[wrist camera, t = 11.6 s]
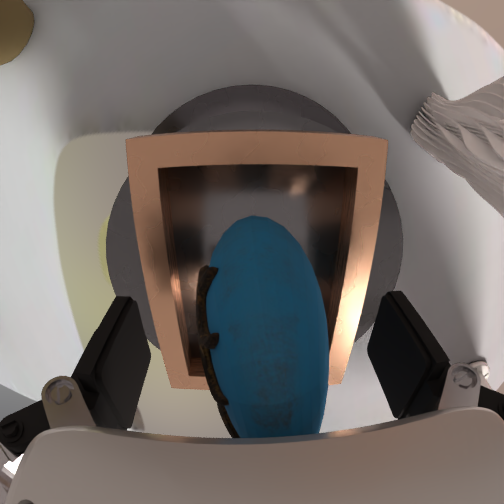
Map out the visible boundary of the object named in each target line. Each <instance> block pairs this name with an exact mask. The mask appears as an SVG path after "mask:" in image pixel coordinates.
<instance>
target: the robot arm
mask: <svg viewBox="0 0 504 504" xmlns="http://www.w3.org/2000/svg"><path fill="white" fill-rule="evenodd" d="M367 352H368V356H369V358H370V360H371V363H372V365H373V367H374V370H375V372H376V374H377V377H378V379H379V382H380V384H381V386H382V389H383V391H384V394H385V396H386V399H387V401H388V404H389V406H390V409H391V411H392V414H393V416H394V417H395V418H398V420H394V421H390V422H385V423H380V424H376V425H370V426H365V427H360V428H354V429H348V430H341V431H334V432H326V433H318V434H309V435H299V436H286V437H269V438H201V437H183V436H171V435H161V434H151V433H142V432H134V431H127V428H131V426H132V423H133V419H134V416H135V412H136V408H137V405H138V401H139V397H140V394H141V390H142V387H143V383H144V380H145V377H146V373H147V370H148V367H149V363H150V360H151V353H150V349H149V345H148V342H147V338H146V335H145V331H144V327H143V324H142V320H141V316H140V312H139V308H138V304H137V302H136V301H135V300H133V299H132V297H130V296H116V298H115V299H114V301H113V302H112V304H111V306H110V308H109V309H108V311H107V313H106V315H105V316H104V318H103V320H102V322H101V324H100V326H99V327H98V329H96V331H95V332H94V334H93V336H92V337H91V340H90V341H89V343H88V345H87V347H86V349H85V351H84V352H83V354H82V356H81V358H80V360H79V362H78V364H77V366H76V368H75V370H74V372H73V374H72V376H71V377H67V376H59V377H55V378H53V379H51V380H49V381H48V382H47V383H46V384H45V386H44V387H43V389H42V393H41V396H42V400H40V401H38V402H36V403H34V404H32V405H30V406H28V407H25V408H23V409H21V410H19V411H17V412H15V413H13V414H10V415H8V416H6V417H5V418H3V420H2V421H1V422H0V504H504V395H503V394H501V393H499V392H496V391H494V390H492V388H491V386H490V385H489V383H488V382H487V378H488V376H489V371H490V370H489V367H488V365H487V364H486V363H485V362H483V361H478V362H474V363H471V364H469V365H468V364H464V363H456V364H453V365H452V366H451V365H450V364H449V358H448V357H447V355H446V354H445V352H444V351H443V349H442V347H441V346H440V344H439V343H438V341H437V340H436V339H435V337H434V336H433V334H432V333H431V331H430V330H429V328H428V327H427V325H426V324H425V323H424V321H423V320H422V318H421V317H420V315H419V314H418V313H417V311H416V310H415V309H414V307H413V306H412V304H411V303H410V302H409V300H408V299H407V298H406V296H405V295H404V294H403V292H402V291H388V292H387V293H386V294H385V295H384V296H382V298H381V302H380V305H379V309H378V313H377V316H376V320H375V323H374V327H373V330H372V333H371V337H370V340H369V343H368V347H367Z"/></svg>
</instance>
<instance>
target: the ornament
mask: <svg viewBox="0 0 504 504" xmlns="http://www.w3.org/2000/svg"><path fill="white" fill-rule="evenodd" d="M196 325H197V335H198V342H199V350H200V355H201V360H202V365H203V369H204V373H205V377H206V381H207V384H208V387H209V389H210V392H211V394H212V396H213V398H214V400H215V401H216V402H217V405H218V409H219V413H220V415H221V417H222V420H223V422H224V424H225V426H226V428H227V430H228V432H229V434H230V435H231V437H232V438H269V437H286V436H299V435H309V434H318V433H319V431H320V427H321V423H322V419H323V415H324V410H325V404H326V397H327V390H328V381H329V341H328V328H327V320H326V314H325V309H324V304H323V299H322V294H321V290H320V287H319V284H318V281H317V279H316V276H315V273H314V270H313V268H312V265H311V263H310V261H309V260H308V258H307V256H306V254H305V252H304V251H303V249H302V247H301V245H300V244H299V242H298V241H297V240H296V239H295V238H294V237H293V236H292V235H291V234H290V232H289V231H288V230H287V229H286V228H285V227H284V226H282V225H280V224H279V223H277V222H275V221H273V220H271V219H269V218H268V217H260V216H252V215H251V216H248V217H245V218H243V219H240V220H237V221H236V222H235V223H234V224H232V225H231V226H230V227H229V228H228V229H227V230H226V231H225V232H224V233H223V235H222V236H221V238H220V240H219V242H218V244H217V245H216V247H215V249H214V251H213V253H212V257H211V261H210V265H209V266H208V265H205V266H204V267H202V268H200V269H199V275H198V281H197V288H196Z"/></svg>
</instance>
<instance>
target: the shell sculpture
mask: <svg viewBox="0 0 504 504" xmlns="http://www.w3.org/2000/svg"><path fill="white" fill-rule="evenodd" d="M427 102H428V104H427V103H425V102H424V106H425V109H426V110H425V109H424V108H423V107H421V108H422V110H423V112H424V114H425V115H426V117H427V118H426V117H425V116H424V115H423V114H422V113H421V112H420V111H419V113H420V114H421V116H422V117H423V118H424V119H425V120H427V121H428V122H429V123H430V124H429V123H428V122H427V121H425V120H424V119H423V118H422V117H420V116H419V115H417V116H416V117H417V119H418V120H417V119H414V123H415V124H412V126H411V128H412V130H411V132H410V134H411V136H412V137H413V138H414V140H415V142H416V143H417V144H419V146H421V147H422V148H423V149H424V150H425V151H426V152H428V153H429V154H430V155H431V156H432V157H433V158H435V159H436V160H437V161H438V162H440V163H443V164H445V165H446V166H447V167H448V168H449V169H450V170H452V171H453V172H454V173H456V174H457V175H459V176H461V177H463V178H465V179H466V180H467V182H468V183H469V184H470V186H471V187H472V188H473V189H474V190H475V191H476V192H477V193H478V194H479V195H480V196H481V197H482V198H483V199H484V200H486V201H487V202H488V203H489V204H490V205H491V206H492V207H494V208H495V209H496V210H497V211H498V212H499V213H500V214H501V215H502V216H503V217H504V76H503V77H501V78H499V79H498V80H496V81H494V82H493V83H491V84H489V85H487V86H484V87H482V88H481V89H479V90H477V91H475V92H473V93H472V94H470V95H468V96H466V97H464V98H462V99H459V100H456V101H450V100H447V99H444V98H443V97H442V96H440V95H436V94H435V93H434V92H432V95H431V98H430V97H427ZM428 119H429V120H430V121H432V122H434V123H435V124H436V125H435V124H433V123H432V122H430V121H429V120H428ZM499 120H500V121H499ZM431 124H432V125H433V126H432V125H431ZM434 126H435V127H434ZM433 128H434V129H433Z"/></svg>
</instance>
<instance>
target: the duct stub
mask: <svg viewBox="0 0 504 504" xmlns="http://www.w3.org/2000/svg"><path fill="white" fill-rule="evenodd" d="M387 149H388V140H386V139H382V138H377V137H373V136H365V135H355V134H350V132H349V131H348V129H347V128H346V127H345V126H344V125H343V124H342V123H341V122H340V121H339V120H338V119H337V118H336V117H335V116H334V115H333V114H332V113H330V112H329V111H328V110H326V109H325V108H324V107H322V106H321V105H319V104H318V103H316V102H314V101H312V100H310V99H309V98H307V97H305V96H302V95H300V94H297V93H295V92H292V91H289V90H285V89H281V88H276V87H272V86H262V85H242V86H232V87H227V88H222V89H218V90H214V91H212V92H209V93H206V94H204V95H201V96H198V97H196V98H195V99H193V100H191V101H189V102H187V103H186V104H184V105H182V106H181V107H179V108H178V109H177V110H175V111H174V112H173V113H172V114H170V115H169V116H168V117H167V118H166V119H165V120H164V121H163V122H162V123H161V124H160V125H159V126H158V127H157V128H156V129H155V131H154V132H153V133H152V135H145V136H138V137H134V138H130V139H126V152H127V163H128V174H129V176H128V178H127V179H126V181H125V182H124V184H123V185H122V187H121V189H120V191H119V193H118V196H117V198H116V200H115V202H114V205H113V208H112V211H111V215H110V219H109V222H108V229H107V237H106V259H107V265H108V271H109V276H110V280H111V283H112V286H113V289H114V292H115V294H116V296H130V297H132V299H133V300H135V301H136V302H137V304H138V308H139V312H140V316H141V320H142V324H143V327H144V331H145V335H146V338H147V339H148V340H149V341H150V342H151V343H152V344H153V345H154V346H156V347H157V348H158V349H160V350H161V353H162V356H163V360H164V364H165V367H166V371H167V374H168V377H169V380H170V384H171V387H172V388H179V389H200V390H210V389H209V387H208V384H207V381H206V377H205V373H204V369H203V365H202V360H201V355H200V350H199V342H198V335H197V325H196V288H197V281H198V275H199V269H200V268H202V267H204V266H205V265H208V266H209V265H210V261H211V257H212V253H213V251H214V249H215V247H216V245H217V244H218V242H219V240H220V238H221V236H222V235H223V233H224V232H225V231H226V230H227V229H228V228H229V227H230V226H231V225H232V224H234V223H235V222H236V221H237V220H240V219H243V218H245V217H248V216H251V215H252V216H260V217H268V218H269V219H271V220H273V221H275V222H277V223H279V224H280V225H282V226H284V227H285V228H286V229H287V230H288V231H289V232H290V234H291V235H292V236H293V237H294V238H295V239H296V240H297V241H298V242H299V244H300V245H301V247H302V249H303V251H304V252H305V254H306V256H307V258H308V260H309V261H310V263H311V265H312V268H313V270H314V273H315V276H316V279H317V281H318V284H319V287H320V290H321V294H322V299H323V304H324V309H325V314H326V320H327V328H328V341H329V381H328V385H334V384H341V382H342V379H343V376H344V372H345V369H346V366H347V363H348V359H349V356H350V352H351V349H352V345H353V343H354V342H356V341H357V340H358V339H359V338H360V337H361V336H362V335H363V334H364V333H365V332H366V331H367V330H368V329H369V328H370V327H371V326H372V324H373V323H374V322H375V320H376V316H377V313H378V309H379V305H380V302H381V298H382V296H384V295H385V294H386V293H387V292H388V291H393V290H394V288H395V284H396V281H397V278H398V275H399V272H400V266H401V260H402V252H403V234H402V225H401V219H400V215H399V211H398V207H397V204H396V201H395V198H394V196H393V194H392V192H391V189H390V187H389V185H388V183H387V182H386V180H385V171H386V161H387Z"/></svg>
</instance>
